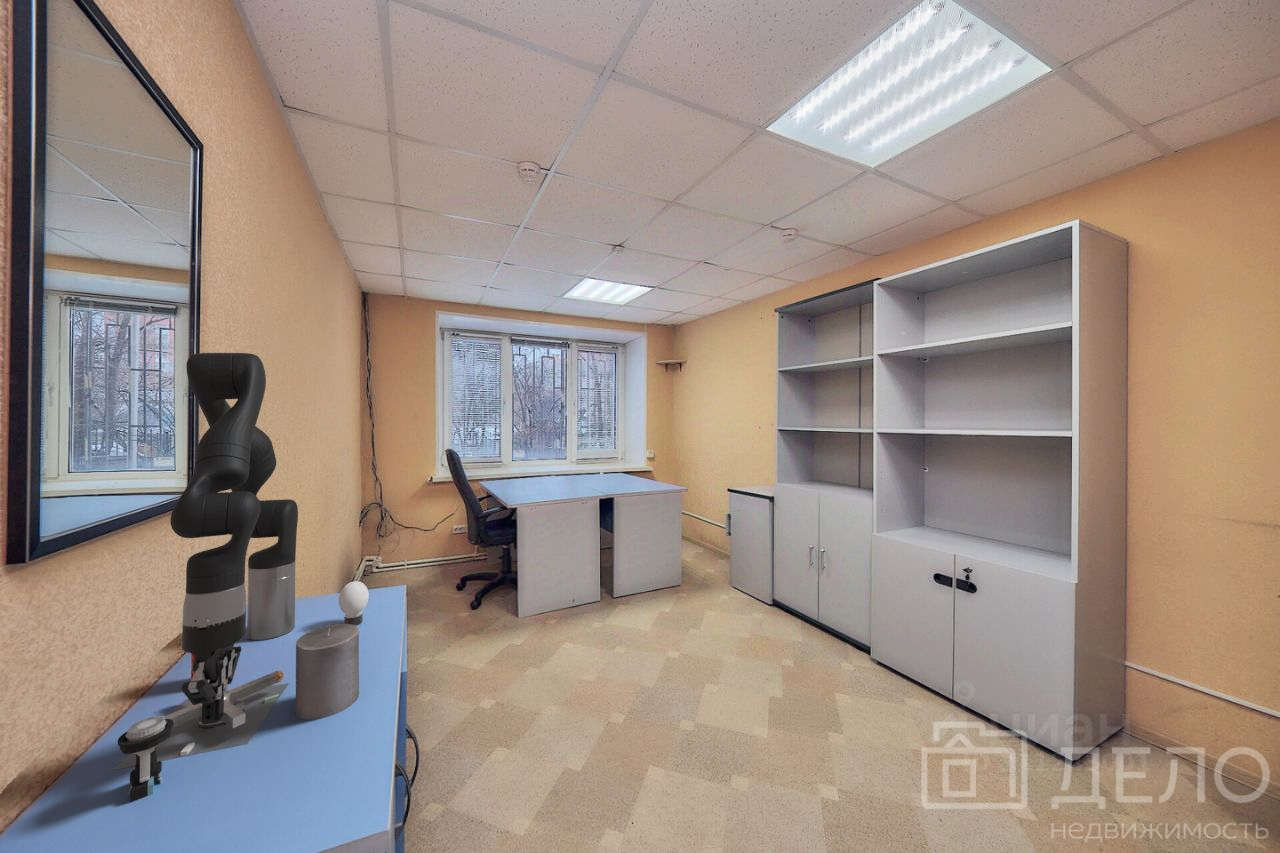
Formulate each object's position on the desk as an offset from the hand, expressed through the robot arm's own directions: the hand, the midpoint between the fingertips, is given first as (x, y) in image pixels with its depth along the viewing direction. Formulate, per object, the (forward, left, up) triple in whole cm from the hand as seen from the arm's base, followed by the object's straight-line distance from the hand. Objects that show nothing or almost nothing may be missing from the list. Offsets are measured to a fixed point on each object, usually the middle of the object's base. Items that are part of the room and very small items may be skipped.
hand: (212, 720), depth 73 cm
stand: (-6, -2, -4) cm, 8 cm away
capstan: (-6, -2, -3) cm, 7 cm away
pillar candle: (-5, +15, -4) cm, 16 cm away
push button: (+8, -4, -4) cm, 10 cm away
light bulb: (-44, +11, -4) cm, 46 cm away
